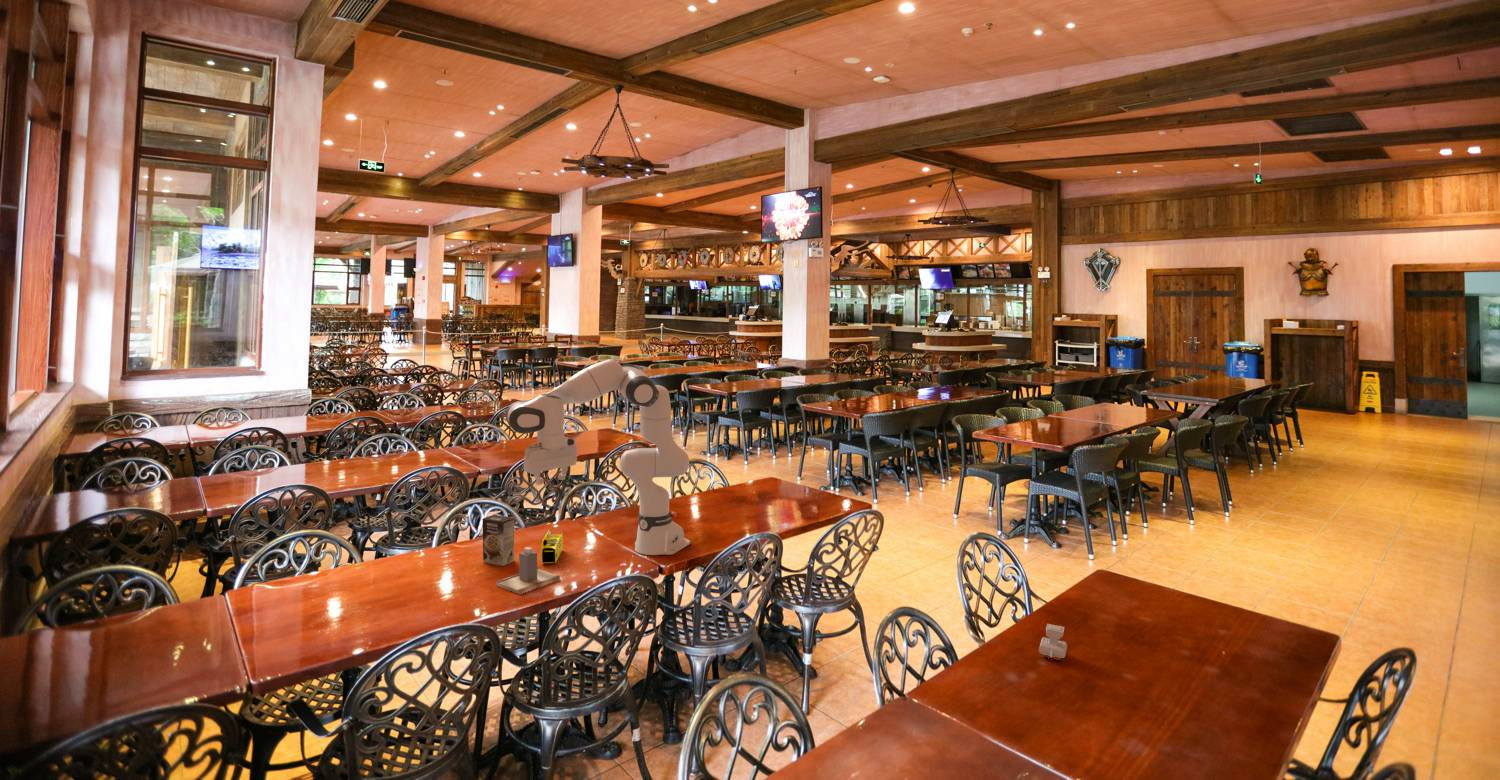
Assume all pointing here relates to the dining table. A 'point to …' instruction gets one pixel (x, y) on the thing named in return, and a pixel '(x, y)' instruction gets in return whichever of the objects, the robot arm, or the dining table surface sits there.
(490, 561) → the coffee box
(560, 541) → the yellow toy chassis
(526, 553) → the grey bottle
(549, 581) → the board
